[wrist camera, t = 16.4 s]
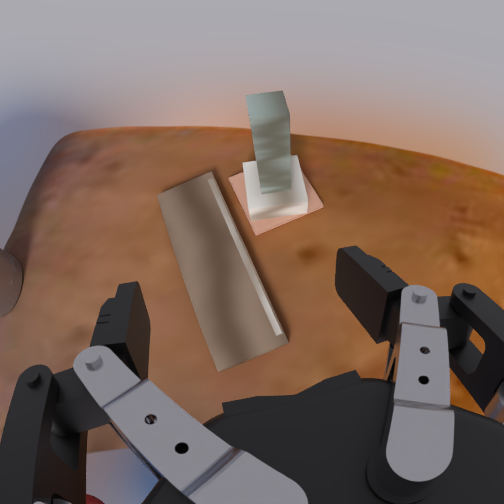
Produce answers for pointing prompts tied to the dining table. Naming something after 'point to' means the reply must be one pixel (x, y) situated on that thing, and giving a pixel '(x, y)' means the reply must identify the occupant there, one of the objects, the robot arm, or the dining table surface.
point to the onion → (92, 500)
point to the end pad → (271, 223)
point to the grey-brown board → (219, 274)
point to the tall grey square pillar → (272, 161)
